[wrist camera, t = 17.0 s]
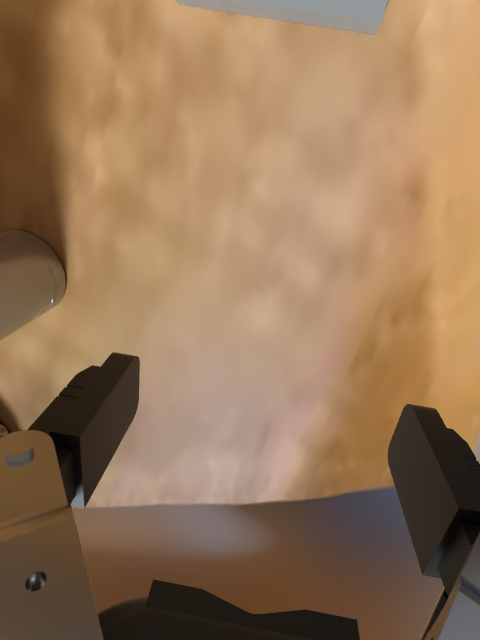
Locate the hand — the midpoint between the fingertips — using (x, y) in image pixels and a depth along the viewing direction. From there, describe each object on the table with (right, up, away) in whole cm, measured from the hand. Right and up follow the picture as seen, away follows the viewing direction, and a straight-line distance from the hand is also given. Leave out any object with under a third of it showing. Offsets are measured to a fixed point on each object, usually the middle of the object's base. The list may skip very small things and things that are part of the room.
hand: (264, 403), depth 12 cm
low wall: (+2, +26, +17) cm, 31 cm away
